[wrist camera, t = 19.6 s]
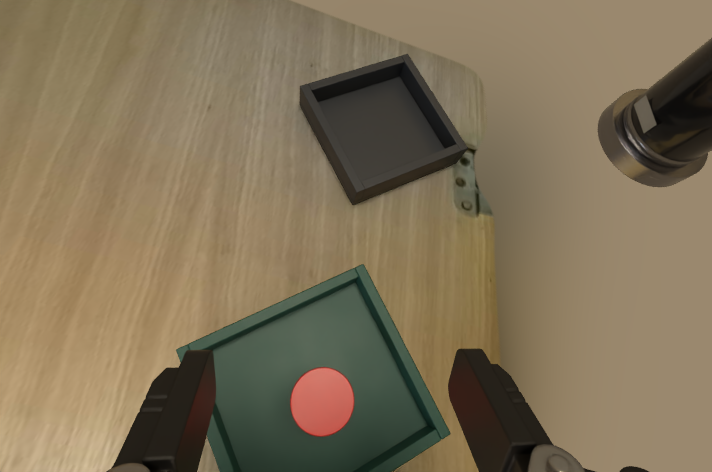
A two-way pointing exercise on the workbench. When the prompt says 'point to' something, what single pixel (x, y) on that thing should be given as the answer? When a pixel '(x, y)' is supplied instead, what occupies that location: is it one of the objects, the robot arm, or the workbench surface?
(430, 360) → the workbench surface
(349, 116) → the tray far
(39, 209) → the workbench surface
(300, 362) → the tray near
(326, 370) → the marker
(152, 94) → the workbench surface
